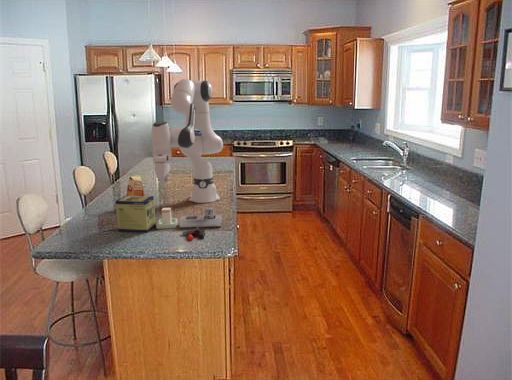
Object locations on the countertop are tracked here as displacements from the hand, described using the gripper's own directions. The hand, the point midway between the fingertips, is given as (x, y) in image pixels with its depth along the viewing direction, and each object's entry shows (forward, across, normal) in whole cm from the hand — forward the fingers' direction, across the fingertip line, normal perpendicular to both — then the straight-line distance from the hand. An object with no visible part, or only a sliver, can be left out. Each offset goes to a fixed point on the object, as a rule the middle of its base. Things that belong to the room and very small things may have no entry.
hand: (164, 183), depth 214 cm
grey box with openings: (+21, +5, +17) cm, 28 cm away
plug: (+21, 0, 0) cm, 21 cm away
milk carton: (+21, -36, -23) cm, 48 cm away
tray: (+21, 0, 0) cm, 21 cm away
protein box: (+22, +4, -14) cm, 26 cm away
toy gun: (+22, +20, +14) cm, 33 cm away
